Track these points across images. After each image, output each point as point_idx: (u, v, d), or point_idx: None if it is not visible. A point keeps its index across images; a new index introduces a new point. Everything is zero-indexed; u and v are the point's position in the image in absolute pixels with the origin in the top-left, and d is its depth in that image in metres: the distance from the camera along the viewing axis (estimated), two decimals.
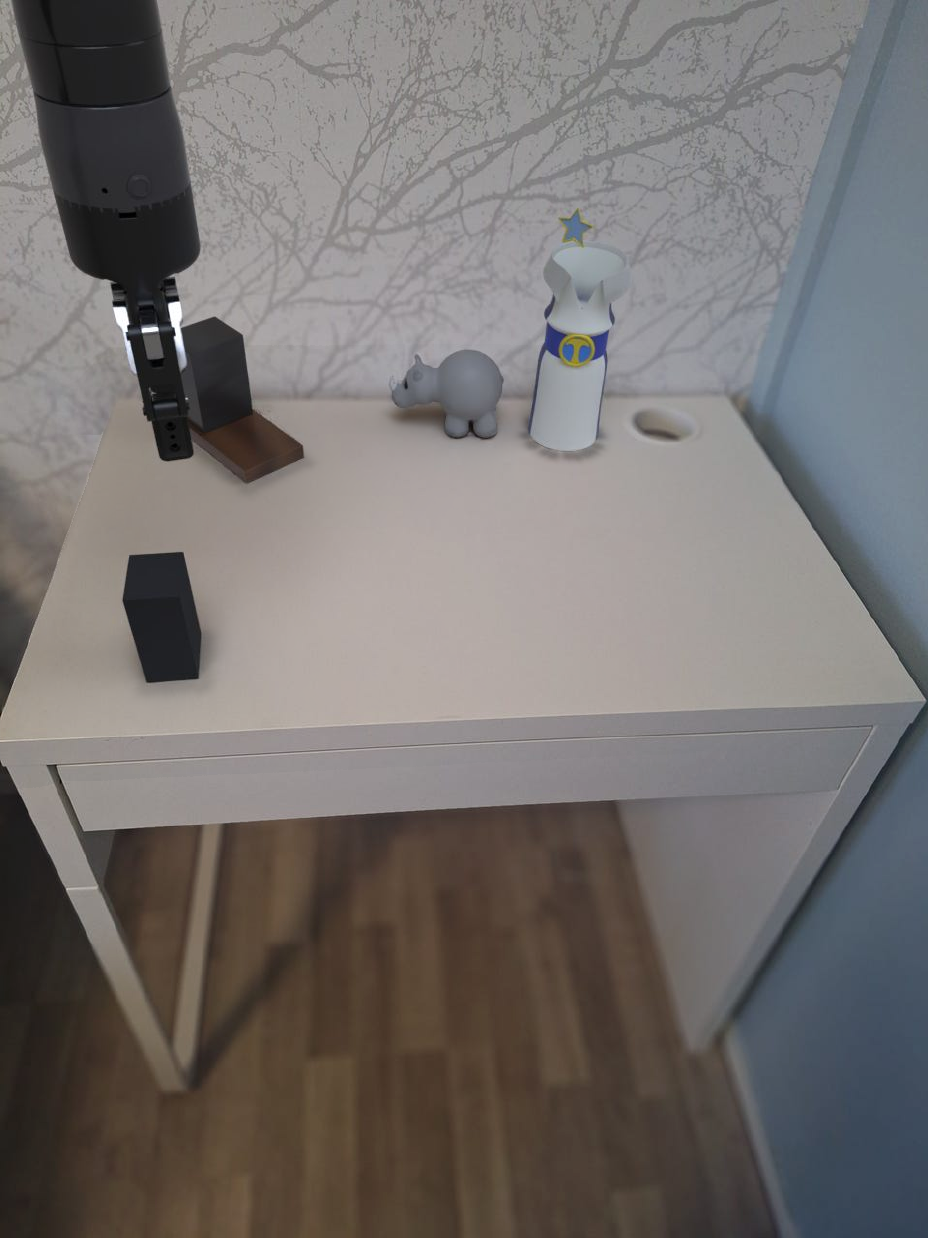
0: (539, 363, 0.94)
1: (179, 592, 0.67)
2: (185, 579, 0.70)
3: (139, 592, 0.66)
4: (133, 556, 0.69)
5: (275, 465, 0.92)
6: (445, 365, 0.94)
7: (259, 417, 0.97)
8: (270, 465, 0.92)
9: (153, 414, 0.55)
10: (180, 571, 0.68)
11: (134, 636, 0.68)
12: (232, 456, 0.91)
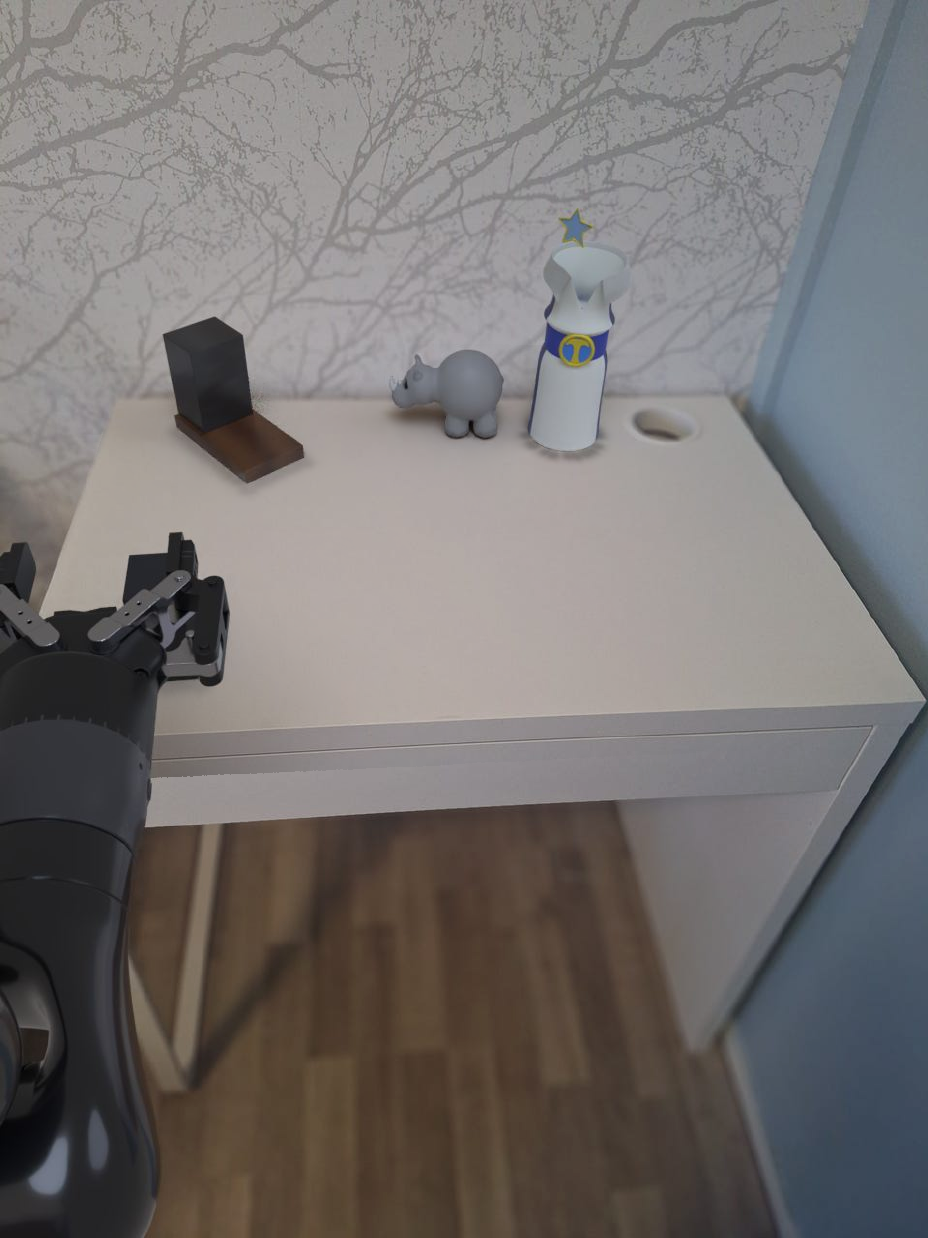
0: (539, 363, 0.94)
1: None
2: None
3: None
4: (133, 556, 0.69)
5: (275, 465, 0.92)
6: (445, 365, 0.94)
7: (259, 417, 0.97)
8: (270, 465, 0.92)
9: None
10: None
11: None
12: (232, 456, 0.91)
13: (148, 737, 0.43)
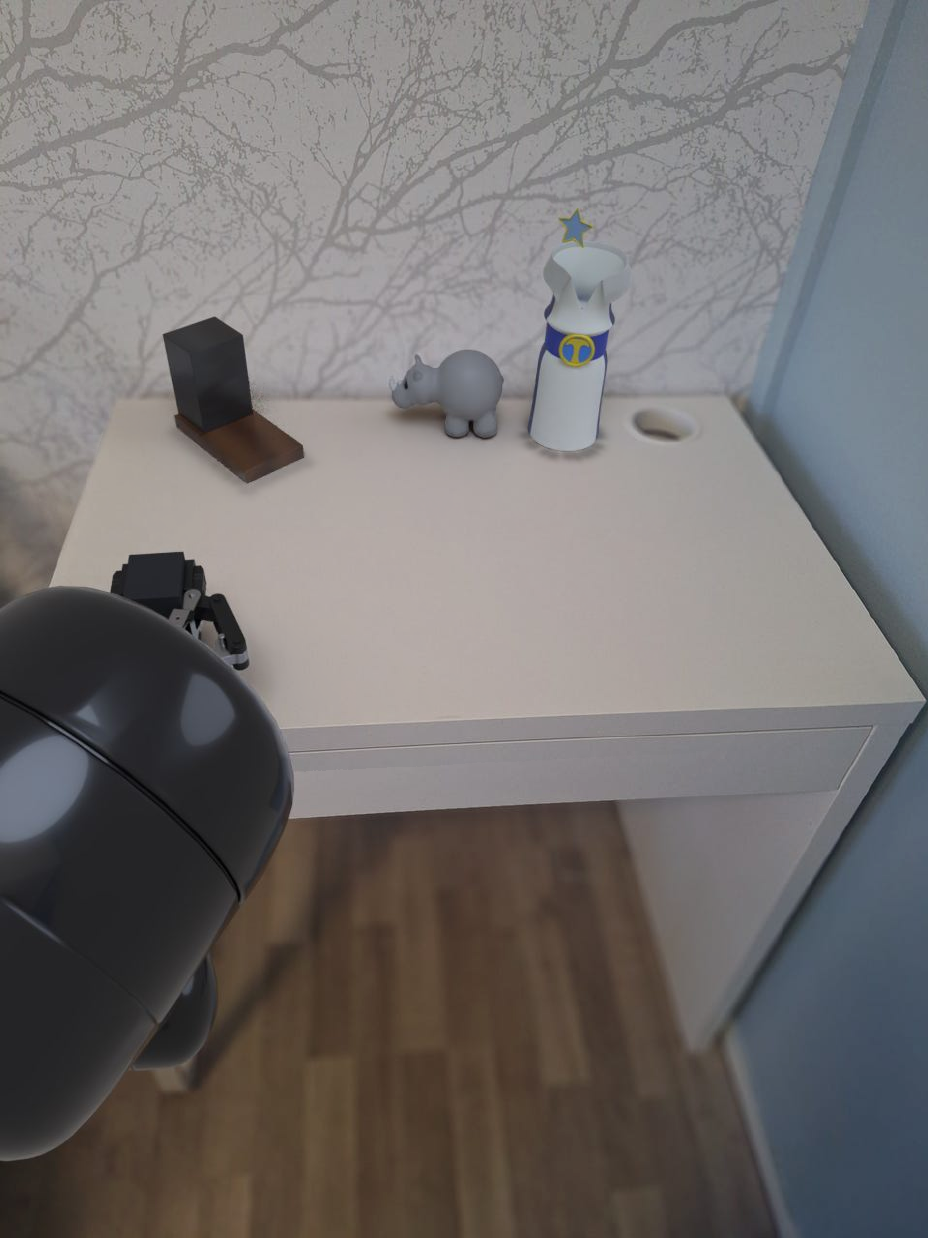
0: (539, 363, 0.94)
1: (179, 592, 0.67)
2: None
3: (139, 592, 0.66)
4: (133, 556, 0.69)
5: (275, 465, 0.92)
6: (445, 365, 0.94)
7: (259, 417, 0.97)
8: (270, 465, 0.92)
9: None
10: (180, 571, 0.68)
11: None
12: (232, 456, 0.91)
13: None
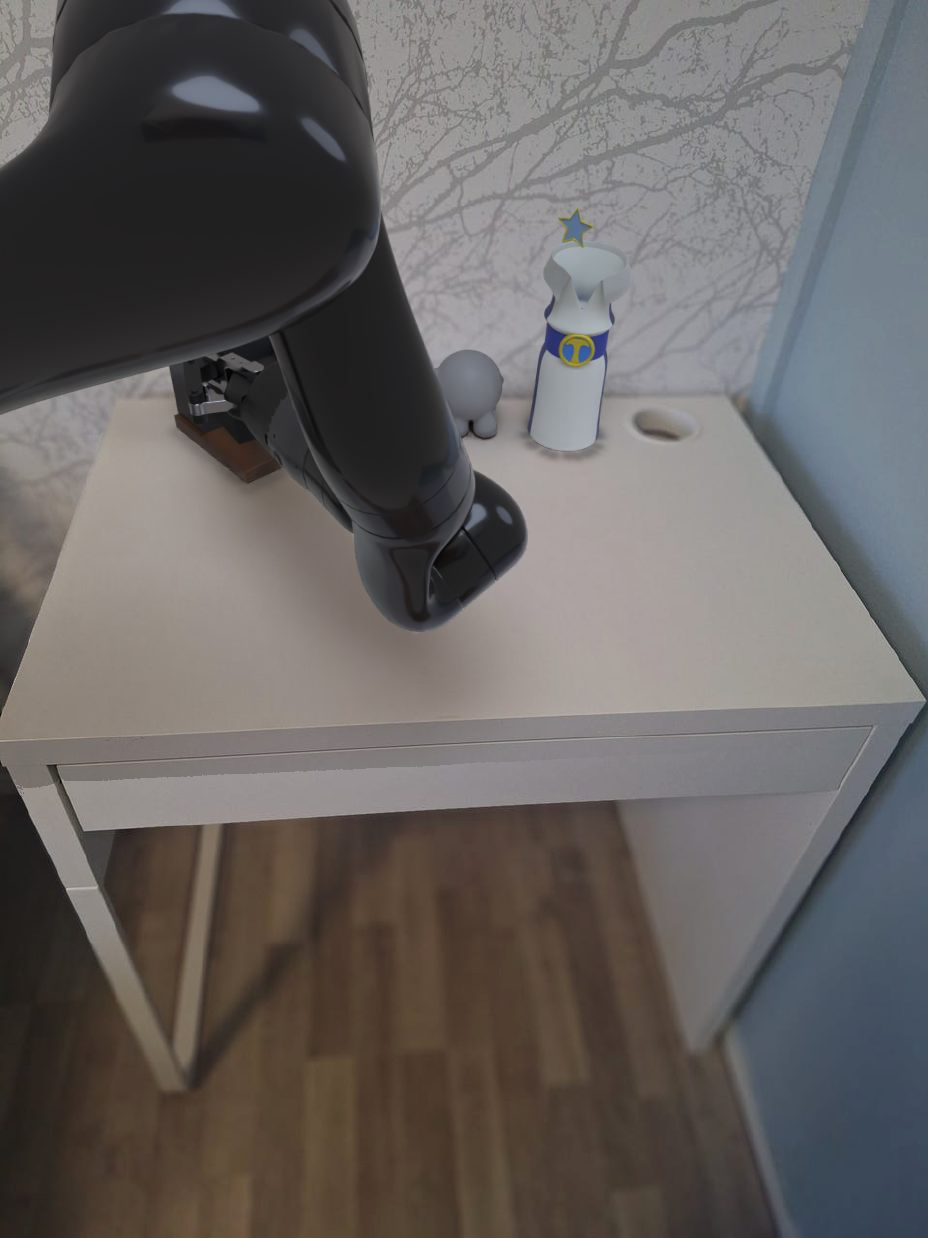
0: (539, 363, 0.94)
1: None
2: None
3: None
4: None
5: (275, 465, 0.92)
6: (445, 365, 0.94)
7: None
8: (270, 465, 0.92)
9: None
10: None
11: None
12: (232, 456, 0.91)
13: None
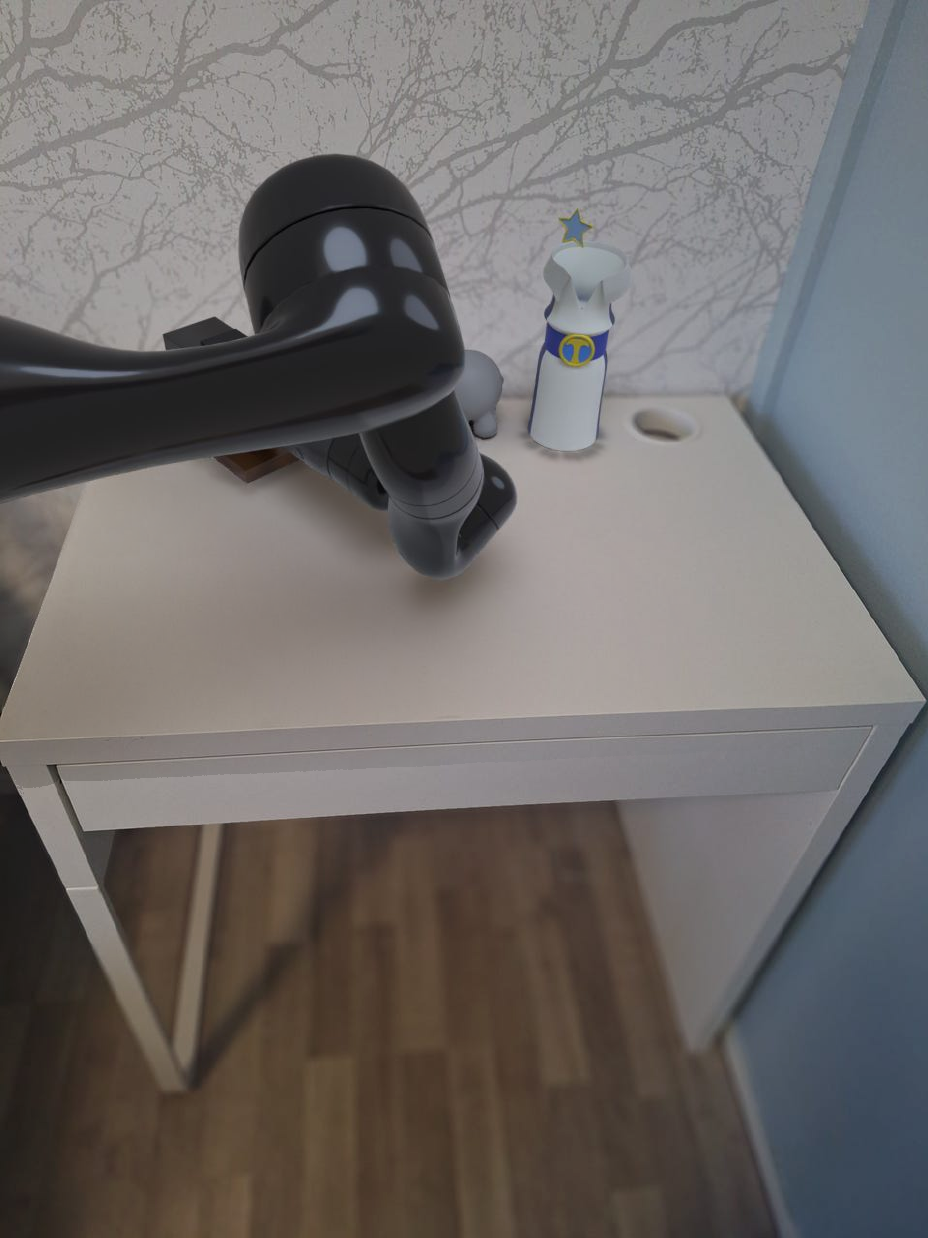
0: (539, 363, 0.94)
1: None
2: None
3: None
4: (204, 340, 0.87)
5: (275, 465, 0.92)
6: None
7: None
8: (270, 465, 0.92)
9: None
10: None
11: None
12: (232, 456, 0.91)
13: None
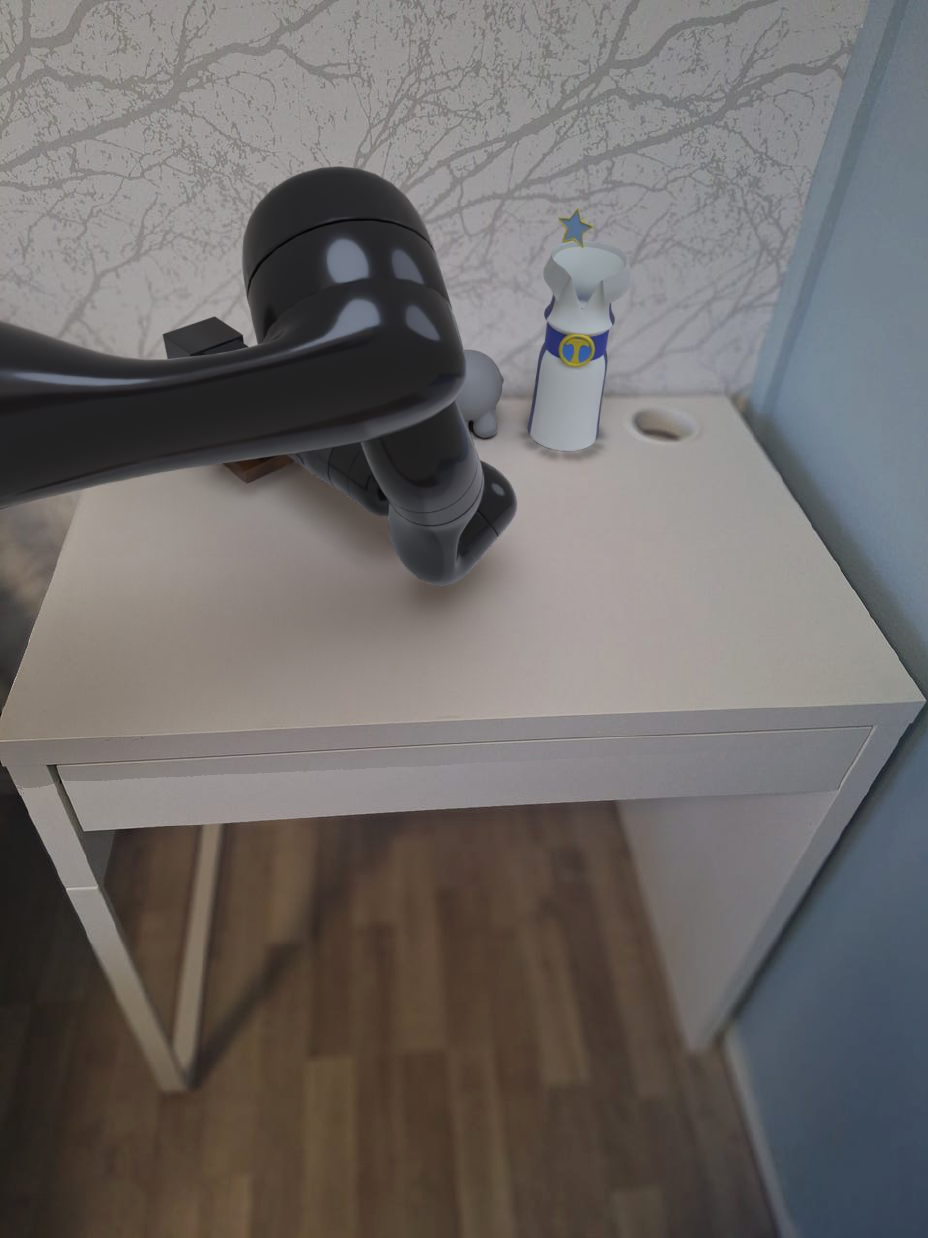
0: (539, 363, 0.94)
1: None
2: None
3: None
4: (207, 351, 0.88)
5: (275, 465, 0.92)
6: None
7: None
8: (270, 465, 0.92)
9: None
10: None
11: None
12: None
13: None
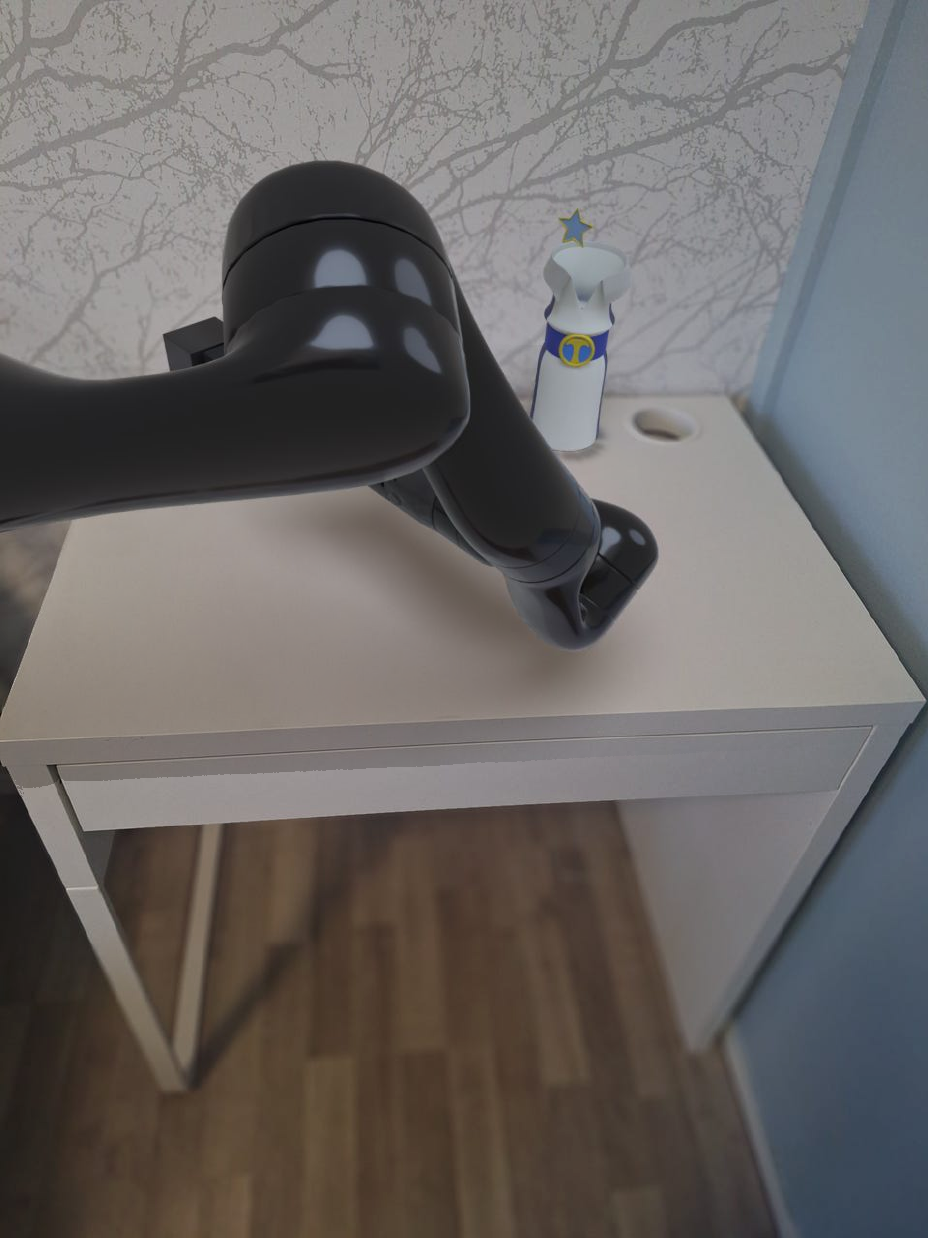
0: (539, 363, 0.94)
1: None
2: None
3: None
4: (207, 351, 0.88)
5: None
6: None
7: None
8: None
9: None
10: None
11: None
12: None
13: None
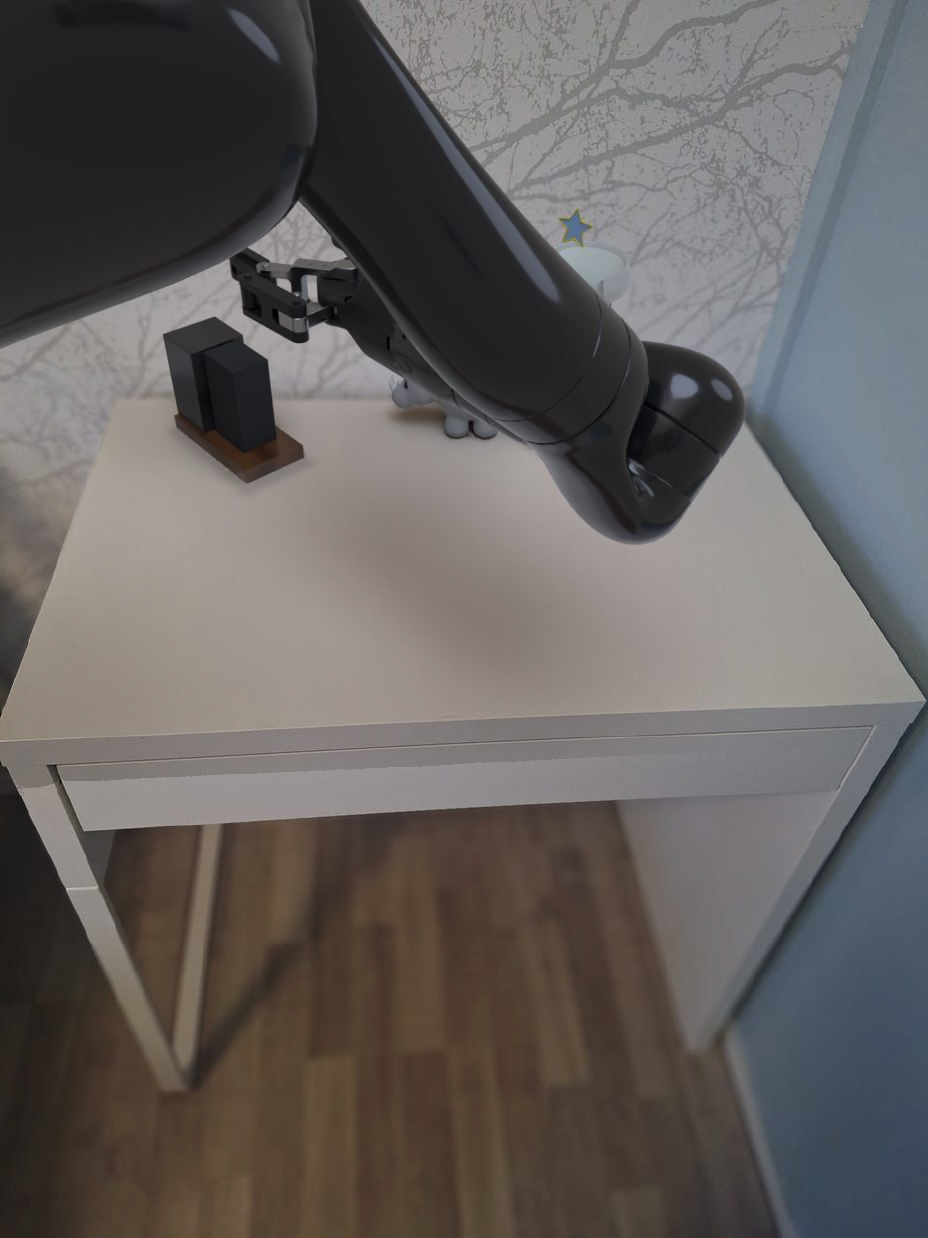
0: None
1: (264, 358, 0.88)
2: None
3: (238, 365, 0.86)
4: (207, 351, 0.88)
5: (275, 465, 0.92)
6: None
7: None
8: (270, 465, 0.92)
9: (241, 285, 0.58)
10: (250, 348, 0.89)
11: (238, 407, 0.88)
12: (232, 456, 0.91)
13: None
